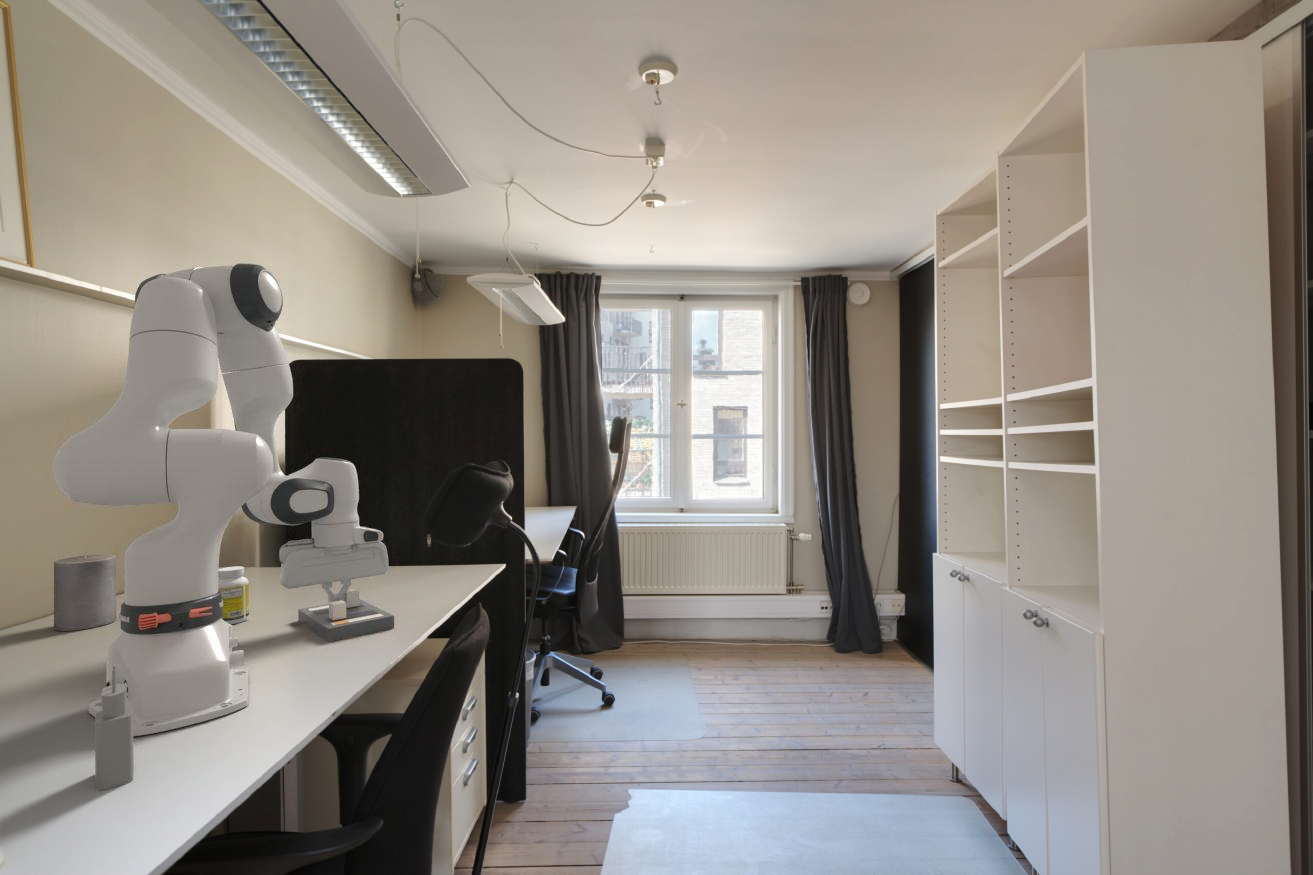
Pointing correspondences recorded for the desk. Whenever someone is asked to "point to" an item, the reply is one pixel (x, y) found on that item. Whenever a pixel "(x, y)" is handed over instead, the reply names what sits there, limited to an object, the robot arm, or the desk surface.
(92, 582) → the pillar candle
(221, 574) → the pill bottle
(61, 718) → the desk surface
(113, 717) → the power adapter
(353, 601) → the rear slider
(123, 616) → the robot arm
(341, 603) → the front slider
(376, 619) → the switch housing
